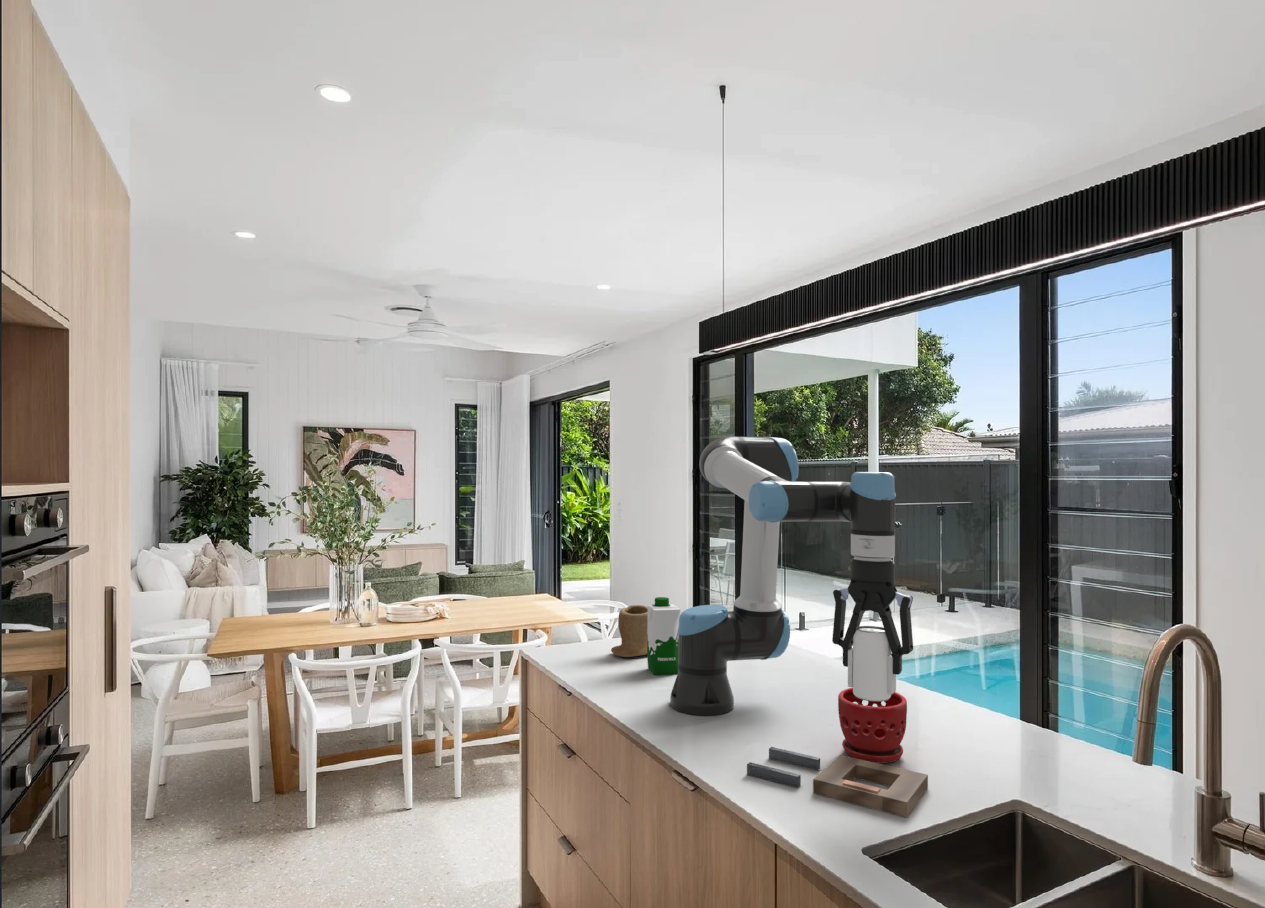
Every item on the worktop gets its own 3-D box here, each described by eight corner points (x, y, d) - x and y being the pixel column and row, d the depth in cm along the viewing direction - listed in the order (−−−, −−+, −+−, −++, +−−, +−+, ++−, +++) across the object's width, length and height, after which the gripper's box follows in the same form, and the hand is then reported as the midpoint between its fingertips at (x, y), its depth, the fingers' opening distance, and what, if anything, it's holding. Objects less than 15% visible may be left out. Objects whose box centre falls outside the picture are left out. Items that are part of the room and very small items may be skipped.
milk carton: (673, 666, 219) (674, 596, 220) (683, 674, 211) (683, 601, 211) (644, 667, 217) (644, 597, 218) (652, 676, 209) (653, 602, 209)
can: (893, 703, 132) (893, 633, 132) (854, 700, 133) (854, 631, 133) (888, 692, 138) (888, 626, 138) (851, 690, 139) (851, 624, 140)
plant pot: (831, 743, 159) (831, 685, 159) (894, 744, 159) (895, 686, 159) (846, 767, 146) (847, 704, 146) (916, 769, 146) (916, 706, 146)
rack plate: (813, 793, 134) (813, 777, 134) (840, 767, 146) (840, 753, 146) (906, 817, 125) (907, 800, 125) (927, 788, 137) (927, 772, 137)
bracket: (746, 774, 142) (746, 763, 142) (771, 756, 151) (771, 746, 151) (798, 788, 136) (798, 776, 136) (820, 768, 145) (820, 757, 145)
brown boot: (625, 662, 223) (626, 611, 223) (606, 653, 233) (607, 604, 234) (669, 656, 231) (669, 607, 231) (648, 648, 241) (649, 600, 241)
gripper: (812, 556, 139) (811, 684, 138) (923, 564, 128) (922, 703, 127) (827, 552, 145) (826, 675, 144) (934, 560, 134) (933, 693, 133)
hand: (871, 688), depth 136 cm, fingers closed on can, 6 cm apart
